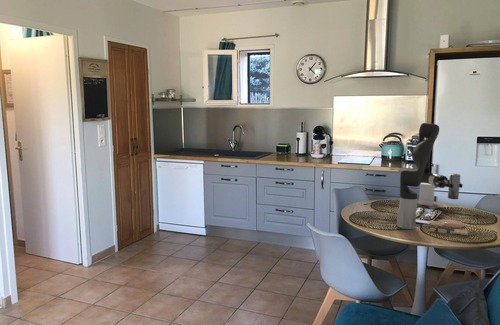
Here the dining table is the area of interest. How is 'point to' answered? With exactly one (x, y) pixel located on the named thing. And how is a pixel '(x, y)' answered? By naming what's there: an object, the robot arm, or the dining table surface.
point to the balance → (449, 231)
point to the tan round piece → (452, 223)
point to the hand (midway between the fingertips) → (457, 186)
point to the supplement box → (426, 194)
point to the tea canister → (454, 186)
